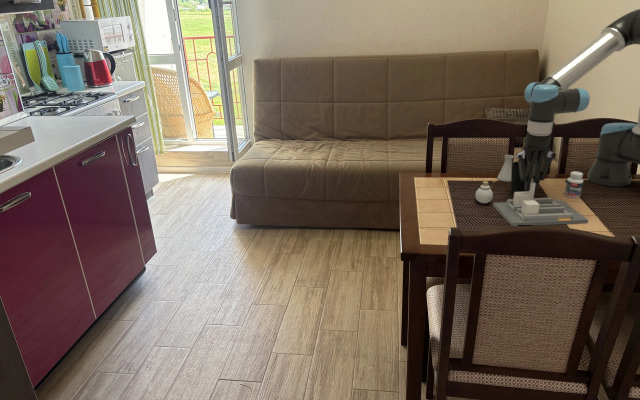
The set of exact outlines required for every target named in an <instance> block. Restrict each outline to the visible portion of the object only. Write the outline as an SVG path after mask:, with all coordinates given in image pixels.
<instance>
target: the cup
mask: <svg viewBox="0 0 640 400" xmlns="http://www.w3.org/2000/svg"><path fill="white" fill-rule="evenodd" d="M525 169H527V161H525ZM524 188H525V181H523V180H522V179H520V172H519V164H518V161H514V162H513V161H512V172H511V183H510V195H511V196H513V197H514V192H526V190H525V189H524Z"/></svg>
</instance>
